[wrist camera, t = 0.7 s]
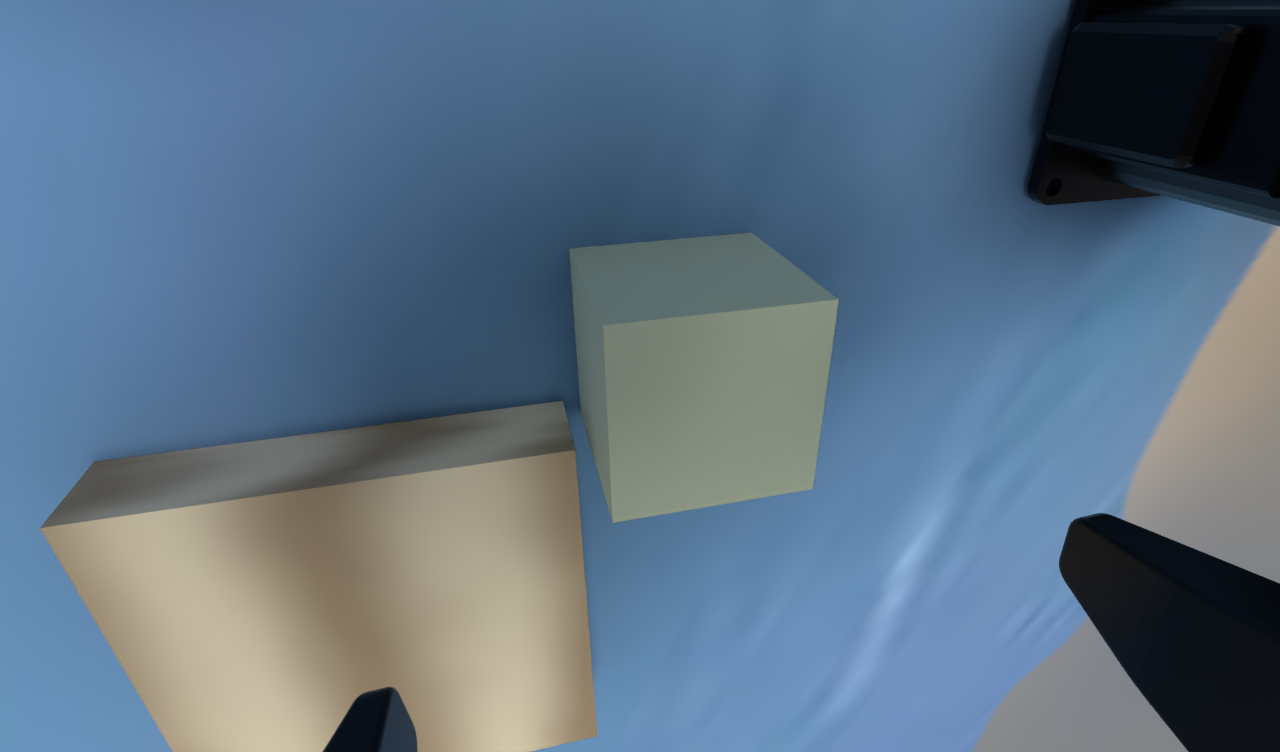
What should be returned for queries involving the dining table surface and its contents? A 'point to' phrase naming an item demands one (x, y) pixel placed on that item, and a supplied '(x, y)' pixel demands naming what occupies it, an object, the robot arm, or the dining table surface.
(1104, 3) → the robot arm
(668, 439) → the cube
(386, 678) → the base slab
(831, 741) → the dining table surface
